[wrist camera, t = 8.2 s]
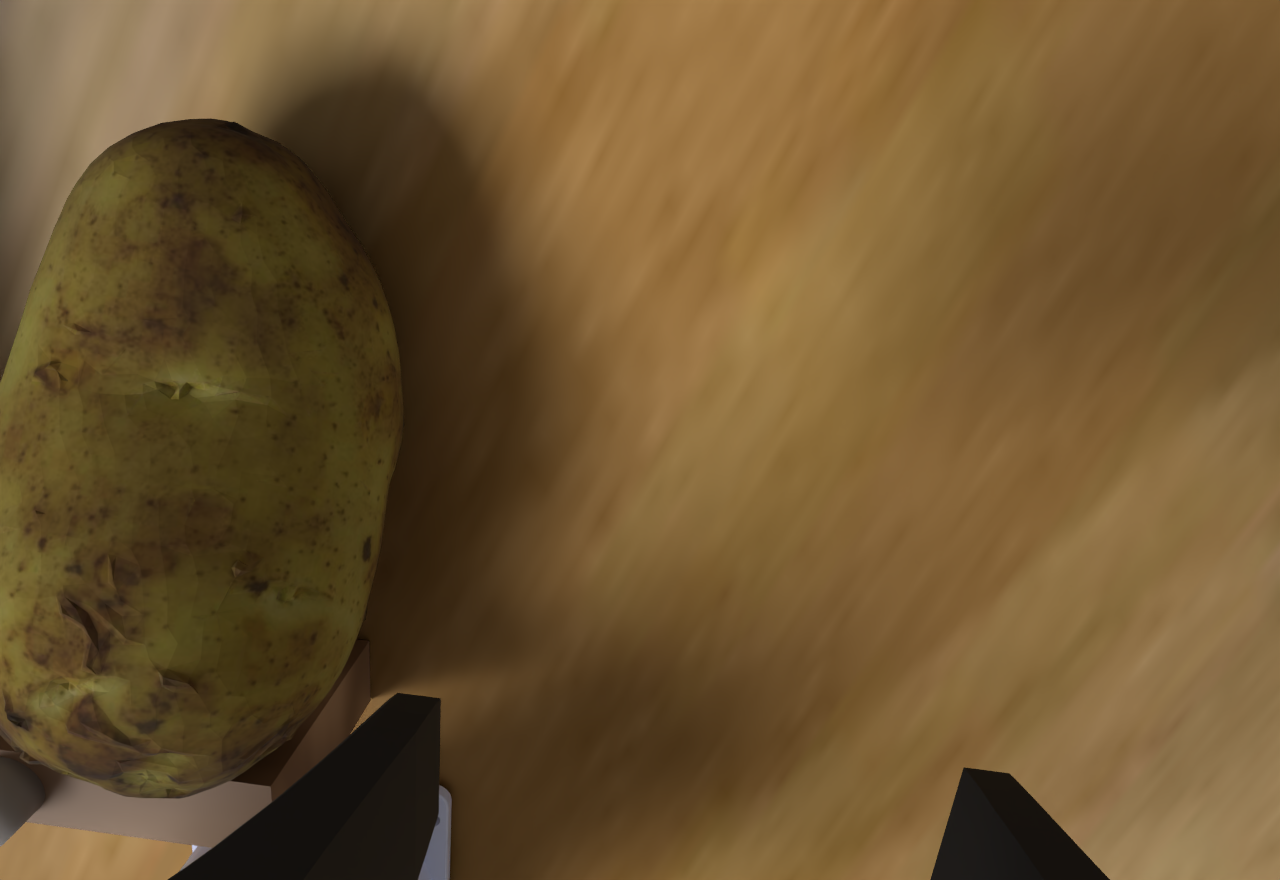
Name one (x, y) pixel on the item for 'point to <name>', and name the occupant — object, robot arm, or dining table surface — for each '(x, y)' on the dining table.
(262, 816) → the robot arm
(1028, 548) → the dining table surface
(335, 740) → the cradle
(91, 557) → the potato
